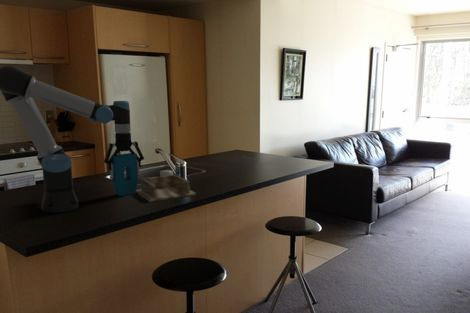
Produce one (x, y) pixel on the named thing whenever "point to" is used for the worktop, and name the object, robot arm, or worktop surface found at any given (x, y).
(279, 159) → the worktop surface
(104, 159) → the robot arm
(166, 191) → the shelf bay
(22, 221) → the worktop surface
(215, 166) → the worktop surface
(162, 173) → the grey rounded piece
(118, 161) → the block
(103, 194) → the worktop surface
